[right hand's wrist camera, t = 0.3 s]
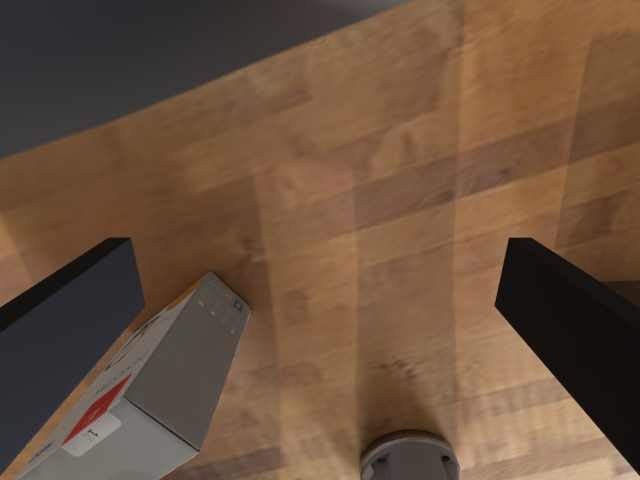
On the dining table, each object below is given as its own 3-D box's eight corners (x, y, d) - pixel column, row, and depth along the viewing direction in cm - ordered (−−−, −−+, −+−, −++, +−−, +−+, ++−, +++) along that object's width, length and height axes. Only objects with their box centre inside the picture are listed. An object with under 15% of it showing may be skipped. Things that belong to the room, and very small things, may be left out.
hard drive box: (210, 267, 43) (125, 395, 24) (253, 308, 45) (207, 454, 26) (129, 335, 46) (2, 491, 28) (173, 370, 49) (82, 536, 30)
